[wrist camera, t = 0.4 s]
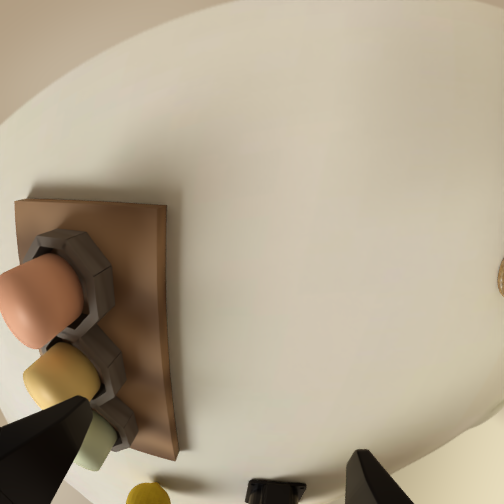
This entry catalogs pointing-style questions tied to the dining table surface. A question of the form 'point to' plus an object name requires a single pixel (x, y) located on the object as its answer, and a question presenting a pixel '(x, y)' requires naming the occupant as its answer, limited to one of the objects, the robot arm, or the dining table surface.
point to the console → (114, 308)
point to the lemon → (148, 494)
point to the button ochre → (61, 376)
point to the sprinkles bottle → (501, 279)
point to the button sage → (96, 443)
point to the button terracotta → (40, 299)
